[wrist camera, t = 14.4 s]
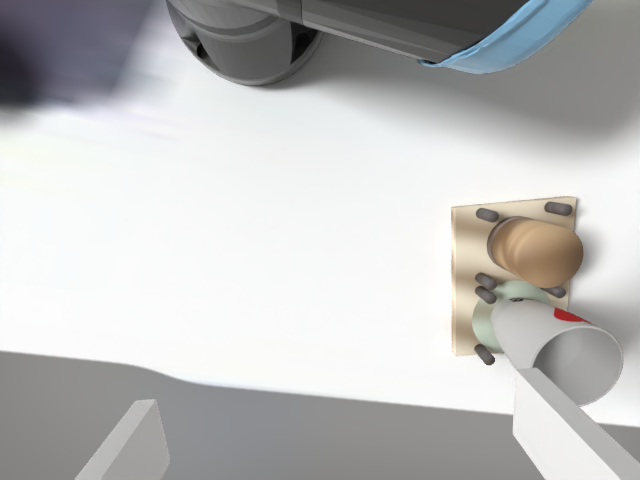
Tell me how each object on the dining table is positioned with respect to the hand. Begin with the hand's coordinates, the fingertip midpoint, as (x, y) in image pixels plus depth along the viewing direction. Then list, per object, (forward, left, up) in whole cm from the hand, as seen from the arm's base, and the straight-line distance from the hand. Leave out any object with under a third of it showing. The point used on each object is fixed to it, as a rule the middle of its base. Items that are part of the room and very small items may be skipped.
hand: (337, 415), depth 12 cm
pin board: (+6, +21, -27) cm, 34 cm away
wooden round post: (+2, +21, -26) cm, 33 cm away
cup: (+10, +21, -26) cm, 35 cm away
